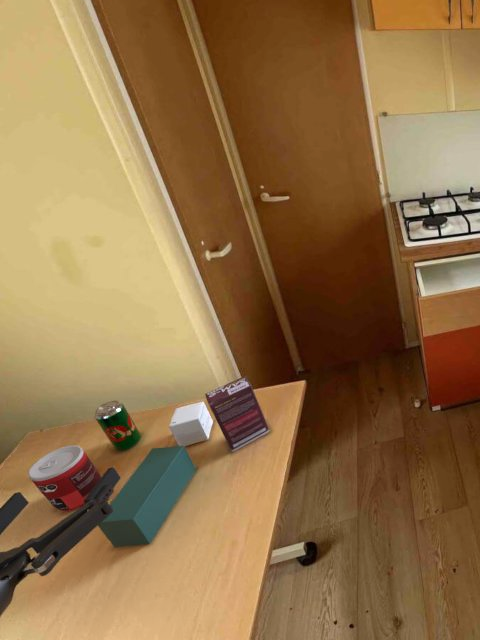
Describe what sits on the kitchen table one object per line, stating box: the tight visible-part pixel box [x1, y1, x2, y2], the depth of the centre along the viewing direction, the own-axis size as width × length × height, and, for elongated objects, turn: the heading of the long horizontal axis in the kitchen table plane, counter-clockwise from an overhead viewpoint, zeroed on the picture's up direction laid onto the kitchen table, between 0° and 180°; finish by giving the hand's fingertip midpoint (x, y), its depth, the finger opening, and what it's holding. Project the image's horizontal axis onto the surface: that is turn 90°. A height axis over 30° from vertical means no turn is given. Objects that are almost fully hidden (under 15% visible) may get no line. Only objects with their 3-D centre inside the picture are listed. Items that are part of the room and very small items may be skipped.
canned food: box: [27, 444, 103, 513], centre depth 88 cm, size 8×8×11 cm
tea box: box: [97, 445, 197, 548], centre depth 86 cm, size 6×16×8 cm, turn 6°
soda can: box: [94, 400, 142, 452], centre depth 99 cm, size 5×5×12 cm
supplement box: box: [204, 375, 270, 453], centre depth 100 cm, size 9×5×16 cm, turn 135°
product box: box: [168, 401, 214, 447], centre depth 102 cm, size 6×6×7 cm
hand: (69, 485), depth 71 cm, fingers open, 13 cm apart
